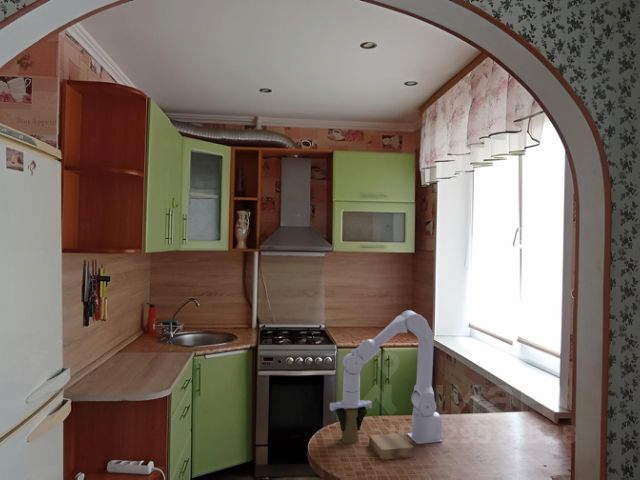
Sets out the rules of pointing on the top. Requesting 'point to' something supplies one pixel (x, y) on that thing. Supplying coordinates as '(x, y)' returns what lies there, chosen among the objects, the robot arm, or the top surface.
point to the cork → (350, 426)
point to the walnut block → (391, 446)
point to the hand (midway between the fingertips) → (350, 429)
